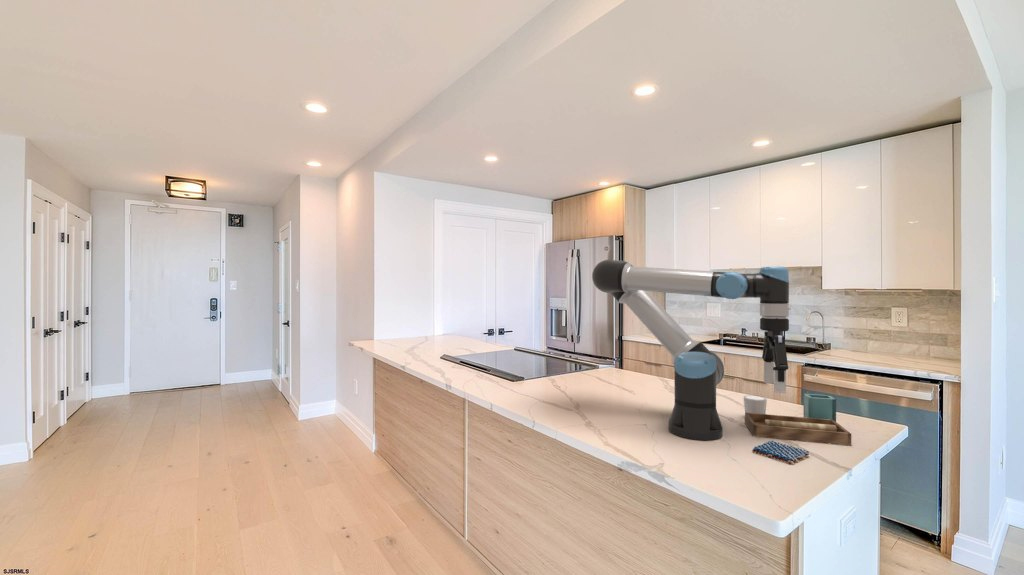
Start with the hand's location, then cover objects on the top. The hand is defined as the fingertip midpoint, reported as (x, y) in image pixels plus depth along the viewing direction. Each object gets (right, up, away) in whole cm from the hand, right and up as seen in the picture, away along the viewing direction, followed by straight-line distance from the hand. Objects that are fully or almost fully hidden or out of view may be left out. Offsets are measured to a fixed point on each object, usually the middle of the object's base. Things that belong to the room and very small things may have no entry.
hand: (774, 387), depth 133 cm
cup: (+18, -13, +6) cm, 23 cm away
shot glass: (+1, -14, +13) cm, 19 cm away
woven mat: (-9, -14, -18) cm, 25 cm away
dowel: (+6, -11, -2) cm, 13 cm away
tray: (+5, -13, -2) cm, 14 cm away
